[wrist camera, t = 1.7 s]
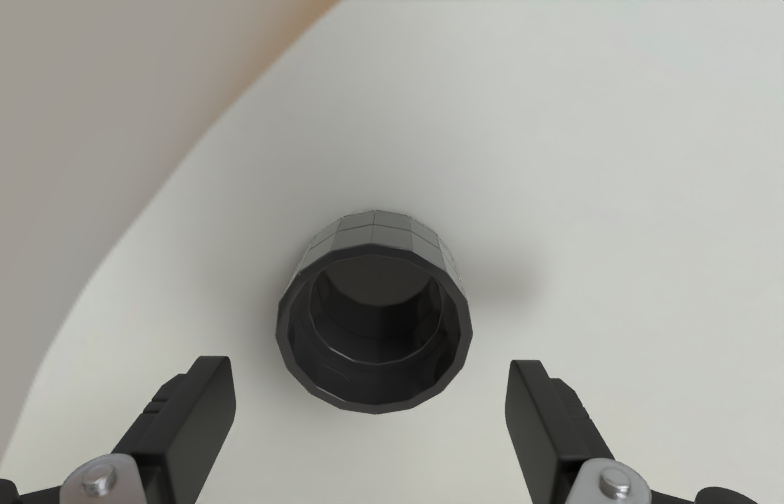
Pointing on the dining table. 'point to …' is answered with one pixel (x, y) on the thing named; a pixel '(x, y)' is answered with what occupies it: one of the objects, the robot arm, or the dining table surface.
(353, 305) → the black bowl
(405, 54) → the dining table surface
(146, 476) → the robot arm
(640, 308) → the dining table surface
